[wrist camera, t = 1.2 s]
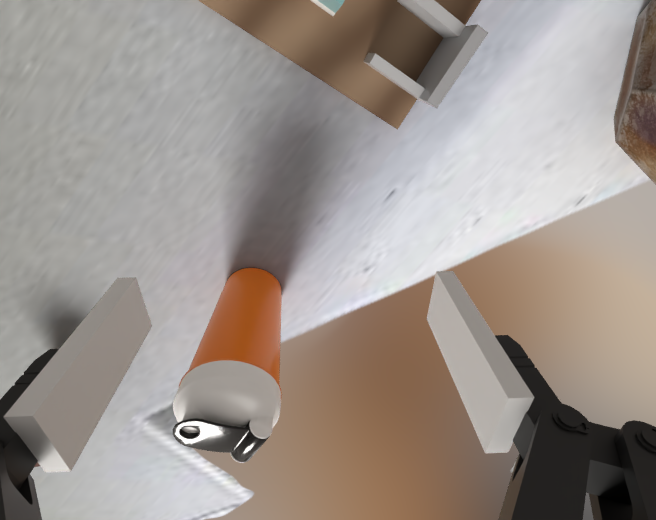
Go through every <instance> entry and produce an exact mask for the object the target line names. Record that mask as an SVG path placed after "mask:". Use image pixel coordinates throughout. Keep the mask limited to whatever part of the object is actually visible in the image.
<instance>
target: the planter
mask: <svg viewBox="0 0 656 520" xmlns="http://www.w3.org/2000/svg"><path fill="white" fill-rule="evenodd" d="M614 129H615V141H616V143H617V144H618V145H619V146H620V147H621V148H622V149H623V150H624V152H625V153H626V154H627V155H628V156H629V157H630V158H631V159H632V160H633V161H634V162H635V163H636V164H637V165H638V166H639V167H640V169H641V170H642V171H643V172H644V173H645V174H646V175H647V176H648V177H649V178H650V179H651V180H652V181H653V182H654V183H655V184H656V0H651V1H650V2H649V4H648V5H647V6H646V7H645V9H644V10H643V11H642V12H641V14H640V15H639V16H638V17H637V20H636V25H635V29H634V33H633V38H632V42H631V46H630V51H629V55H628V59H627V64H626V68H625V72H624V77H623V81H622V85H621V90H620V94H619V98H618V103H617V107H616V111H615V116H614Z"/></svg>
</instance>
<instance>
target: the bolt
mask: <svg viewBox="0 0 656 520" xmlns="http://www.w3.org/2000/svg"><path fill="white" fill-rule="evenodd" d="M311 1H312V2H313V3H315V4H316V5H318V6H319V7H320V8H322V9H323V10H325V11H326V12H327V13H329V14H330V15H331V16H334V15H335V13H336V12H337V11H338V10H339V8H340V7H341V6H342V5H343V3H344V1H345V0H311Z"/></svg>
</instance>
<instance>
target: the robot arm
mask: <svg viewBox="0 0 656 520" xmlns="http://www.w3.org/2000/svg"><path fill="white" fill-rule="evenodd" d="M427 321H428V323H429V325H430V327H431V330H432V332H433V334H434V337H435V339H436V341H437V343H438V346H439V348H440V350H441V353H442V355H443V357H444V359H445V362H446V364H447V366H448V369H449V371H450V373H451V376H452V378H453V380H454V382H455V385H456V387H457V389H458V392H459V394H460V396H461V399H462V401H463V403H464V405H465V408H466V410H467V412H468V415H469V417H470V419H471V422H472V424H473V426H474V429H475V431H476V433H477V435H478V438H479V440H480V442H481V445H482V447H483V449H484V452H485V453H502V452H509V449H510V447H511V445H512V443H513V442H514V443H515V445H516V447H517V449H518V451H519V453H520V454H519V456H518V458H517V460H516V461H515V464H514V466H513V467H512V469H511V472H512V476H511V480H510V483H509V486H508V490H507V493H506V496H505V499H504V502H503V506H502V509H501V512H500V516H499V519H498V520H582V519H583V511H584V503H585V495H586V492H587V493H589V496H590V501H591V507H592V513H593V518H594V520H656V427H654V426H652V425H649V424H647V423H644V422H640V421H629V422H626V423H625V425H623V427H622V428H621V429H615V428H611V427H607V426H603V425H599V424H595V423H591V422H589V421H588V420H587V419H586V418H585V417H584V416H583V415H582V414H581V413H580V412H579V411H577V410H575V409H574V408H572V407H570V406H568V405H565V404H562V403H561V402H560V401H559V399H558V398H557V397H556V395H555V394H554V392H553V391H552V389H551V388H550V387H549V385H548V384H547V382H546V381H545V380H544V378H543V377H542V375H541V374H540V373H539V371H538V370H537V368H535V367H534V364H533V363H532V361H531V360H530V359H529V358H528V356H527V354H526V353H525V352H524V350H523V348H522V347H521V346H520V345H519V344H518V343H517V342H516V341H514V340H513V339H512V338H511V337H509V336H508V335H498V336H495V335H494V334H493V332H492V331H491V329H490V328H489V326H488V325H487V323H486V322H485V320H484V319H483V317H482V316H481V314H480V312H479V311H478V309H477V308H476V306H475V305H474V303H473V301H472V300H471V298H470V297H469V295H468V294H467V292H466V291H465V289H464V287H463V286H462V284H461V283H460V281H459V280H458V278H457V277H456V275H455V274H454V272H453V271H441V272H436V276H435V281H434V286H433V291H432V296H431V301H430V305H429V311H428V316H427ZM151 327H152V324H151V321H150V318H149V315H148V312H147V309H146V306H145V303H144V300H143V297H142V294H141V291H140V288H139V285H138V282H137V279H136V278H117V279H116V281H115V282H114V283H113V284H112V285H111V287H110V288H109V289H108V290H107V292H106V293H105V294H104V295H103V296H102V298H101V299H100V300H99V301H98V303H97V304H96V305H95V306H94V307H93V309H92V310H91V311H90V312H89V313H88V315H87V316H86V317H85V318H84V320H83V321H82V322H81V323H80V324H79V326H78V327H77V328H76V329H75V330H74V332H73V333H72V334H71V335H70V337H69V338H68V339H67V340H66V341H65V343H64V344H63V345H62V346H61V348H60V349H50V350H48V351H47V352H46V353H44V354H43V355H41V356H40V357H39V358H37V359H36V360H35V361H34V362H33V363H32V364H31V365H30V366H29V368H28V369H27V370H26V371H25V372H24V375H22V376H21V377H20V378H19V379H18V380H17V381H16V382H15V386H12V387H11V388H10V389H9V390H8V392H7V393H6V394H5V395H4V396H3V397H2V399H1V400H0V520H42V518H41V513H40V508H39V504H38V499H37V494H36V489H35V484H34V480H33V478H32V477H31V475H30V473H31V471H32V470H33V468H34V466H35V465H36V463H37V462H38V464H39V465H40V466H41V467H42V469H43V470H44V471H45V473H48V472H71V470H72V469H73V467H74V465H75V463H76V462H77V460H78V458H79V456H80V454H81V453H82V451H83V449H84V447H85V445H86V444H87V442H88V440H89V438H90V436H91V435H92V433H93V431H94V429H95V427H96V426H97V424H98V422H99V420H100V419H101V417H102V415H103V413H104V411H105V410H106V408H107V406H108V404H109V402H110V401H111V399H112V397H113V395H114V393H115V392H116V390H117V388H118V386H119V384H120V383H121V381H122V379H123V377H124V376H125V374H126V372H127V370H128V368H129V367H130V365H131V363H132V361H133V359H134V358H135V356H136V354H137V352H138V350H139V349H140V347H141V345H142V343H143V341H144V340H145V338H146V336H147V334H148V333H149V331H150V329H151Z"/></svg>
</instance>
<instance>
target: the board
mask: <svg viewBox="0 0 656 520" xmlns="http://www.w3.org/2000/svg"><path fill="white" fill-rule="evenodd" d="M199 1H200V2H202V3H203V4H205V5H206V6H208V7H209V8H211V9H213V10H214V11H216V12H217V13H219V14H220V15H222V16H223V17H225V18H226V19H228V20H230V21H231V22H233V23H234V24H236V25H237V26H239V27H240V28H242V29H243V30H245V31H246V32H248V33H250V34H251V35H253V36H254V37H256V38H257V39H259V40H260V41H262V42H263V43H265V44H267V45H268V46H270V47H271V48H273V49H274V50H276V51H277V52H279V53H280V54H282V55H284V56H285V57H287V58H288V59H290V60H291V61H293V62H294V63H296V64H297V65H299V66H300V67H302V68H304V69H305V70H307V71H308V72H310V73H311V74H313V75H314V76H316V77H317V78H319V79H321V80H322V81H324V82H325V83H327V84H328V85H330V86H331V87H333V88H334V89H336V90H338V91H339V92H341V93H342V94H344V95H345V96H347V97H348V98H350V99H351V100H353V101H354V102H356V103H358V104H359V105H361V106H362V107H364V108H365V109H367V110H368V111H370V112H371V113H373V114H375V115H376V116H378V117H379V118H381V119H382V120H384V121H385V122H387V123H388V124H390V125H391V126H393V127H395V128H396V129H398V128H399V126H400V125H401V123H402V122H403V120H404V118H405V117H406V115H407V114H408V112H409V111H410V109H411V108H412V106H413V105H414V103H415V102H416V100H417V99H416V98H415V97H413V96H412V95H411V94H409V93H408V92H406V91H405V90H403V89H402V88H400V87H399V86H398V85H396V84H395V83H393V82H392V81H390V80H389V79H388V78H386V77H385V76H383V75H382V74H380V73H379V72H377V71H376V70H375V69H373V68H372V67H370V66H369V65H367V64H366V63H365V62H364V60H365V58H366V56H367V54H368V53H376V54H377V55H378V56H380V57H381V58H383V59H384V60H385V61H387V62H388V63H390V64H391V65H392V66H394V67H395V68H397V69H398V70H399V71H401V72H402V73H404V74H405V75H406V76H408V77H409V78H411V79H412V80H413V81H415V82H416V81H417V79H418V77H419V76H420V74H421V73H422V71H423V69H424V68H425V66H426V65H427V63H428V62H429V60H430V58H431V57H432V55H433V54H434V52H435V50H436V49H437V47H438V46H439V44H440V43H441V41H442V39H443V37H442V36H441V35H439V34H438V33H437V32H436V31H434V30H433V29H432V28H431V27H429V26H428V25H427V24H425V23H424V22H423V21H422V20H420V19H419V18H418V17H416V16H415V15H414V14H413V13H411V12H410V11H409V10H408V9H406V8H405V7H404V6H402V5H401V4H400V3H399V2H397V0H345V1H344V3H343V5H342V6H341V7H340V8H339V10H338V11H337V12H336V13H335V15H334V16H331V15H330V14H329V13H327V12H326V11H325V10H323V9H322V8H320V7H319V6H318V5H316V4H315V3H313V2H312V1H311V0H199ZM435 1H436V2H437V3H438V4H440V5H441V6H442V7H443V8H444V9H446V10H447V11H448V12H449V13H451V14H452V15H453V16H454V17H455V18H457V19H458V20H459V21H460V22H462V23H463V24H464V25H465V24H466V23H467V21H468V20H469V18H470V17H471V15H472V13H473V12H474V10H475V9H476V7H477V6H478V4H479V3H480V1H481V0H435Z"/></svg>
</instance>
